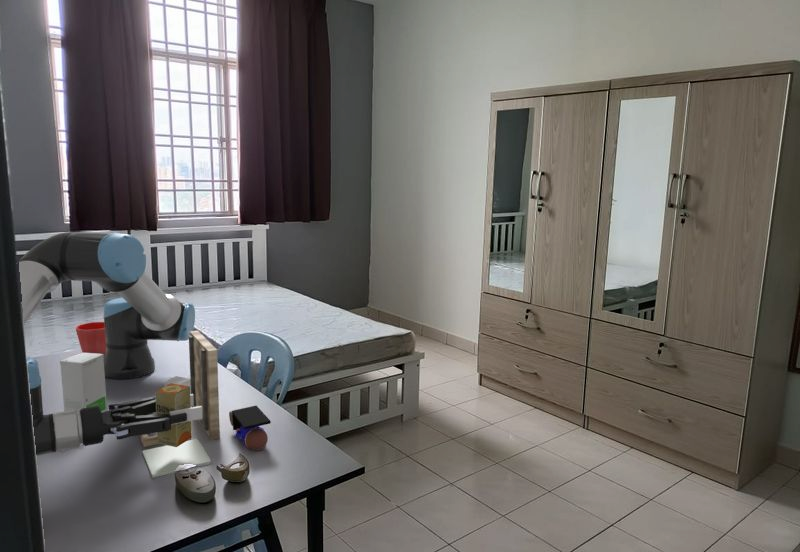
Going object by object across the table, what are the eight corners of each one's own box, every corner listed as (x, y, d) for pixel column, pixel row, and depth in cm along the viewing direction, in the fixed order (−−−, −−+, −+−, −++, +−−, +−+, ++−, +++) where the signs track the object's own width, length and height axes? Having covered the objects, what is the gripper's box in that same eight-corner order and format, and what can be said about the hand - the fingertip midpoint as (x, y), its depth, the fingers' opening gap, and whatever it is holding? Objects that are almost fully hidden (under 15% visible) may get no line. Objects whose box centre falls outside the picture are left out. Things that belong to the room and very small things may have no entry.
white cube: (164, 399, 160) (163, 382, 159) (176, 392, 165) (175, 376, 164) (179, 401, 159) (178, 384, 158) (191, 395, 163) (190, 378, 163)
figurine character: (227, 436, 143) (245, 456, 130) (225, 406, 142) (243, 423, 129) (254, 430, 146) (274, 449, 133) (252, 401, 145) (272, 417, 132)
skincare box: (85, 423, 144) (81, 363, 141) (62, 420, 145) (57, 361, 142) (108, 410, 152) (104, 353, 149) (86, 407, 153) (82, 350, 150)
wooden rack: (134, 423, 145) (129, 338, 140) (200, 410, 153) (197, 330, 149) (147, 454, 130) (141, 360, 126) (219, 437, 138) (217, 349, 134)
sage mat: (142, 453, 130) (142, 450, 130) (197, 441, 136) (197, 438, 136) (152, 477, 120) (152, 475, 120) (211, 463, 127) (211, 460, 126)
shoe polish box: (176, 447, 124) (174, 394, 122) (157, 443, 126) (155, 390, 124) (191, 437, 129) (189, 386, 127) (173, 433, 130) (171, 383, 128)
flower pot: (86, 348, 201) (84, 321, 199) (118, 348, 202) (117, 321, 200) (71, 358, 190) (69, 329, 188) (106, 358, 191) (104, 330, 189)
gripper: (77, 426, 125) (187, 406, 138) (85, 466, 109) (209, 439, 121) (74, 393, 124) (186, 376, 136) (82, 429, 108) (208, 405, 120)
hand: (197, 405), depth 129 cm, fingers closed on shoe polish box, 7 cm apart
